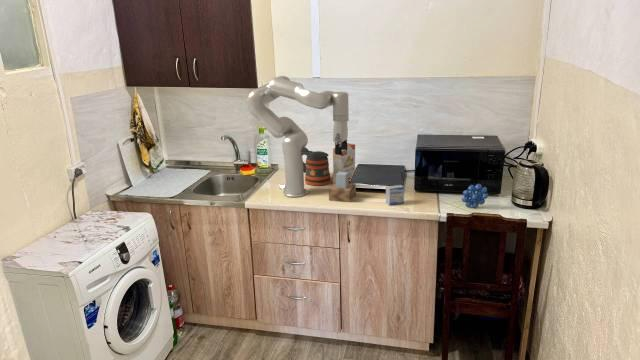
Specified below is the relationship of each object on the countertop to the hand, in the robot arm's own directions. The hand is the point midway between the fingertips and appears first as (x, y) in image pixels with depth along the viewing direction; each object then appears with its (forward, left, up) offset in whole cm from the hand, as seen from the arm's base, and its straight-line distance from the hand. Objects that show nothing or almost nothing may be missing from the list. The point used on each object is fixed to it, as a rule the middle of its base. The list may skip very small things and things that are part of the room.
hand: (341, 152), depth 234 cm
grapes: (+64, +3, -24) cm, 69 cm away
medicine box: (+27, -1, -24) cm, 36 cm away
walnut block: (0, 0, -24) cm, 24 cm away
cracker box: (-6, +24, -24) cm, 35 cm away
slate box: (0, 0, -18) cm, 18 cm away
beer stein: (-23, +21, -24) cm, 39 cm away
